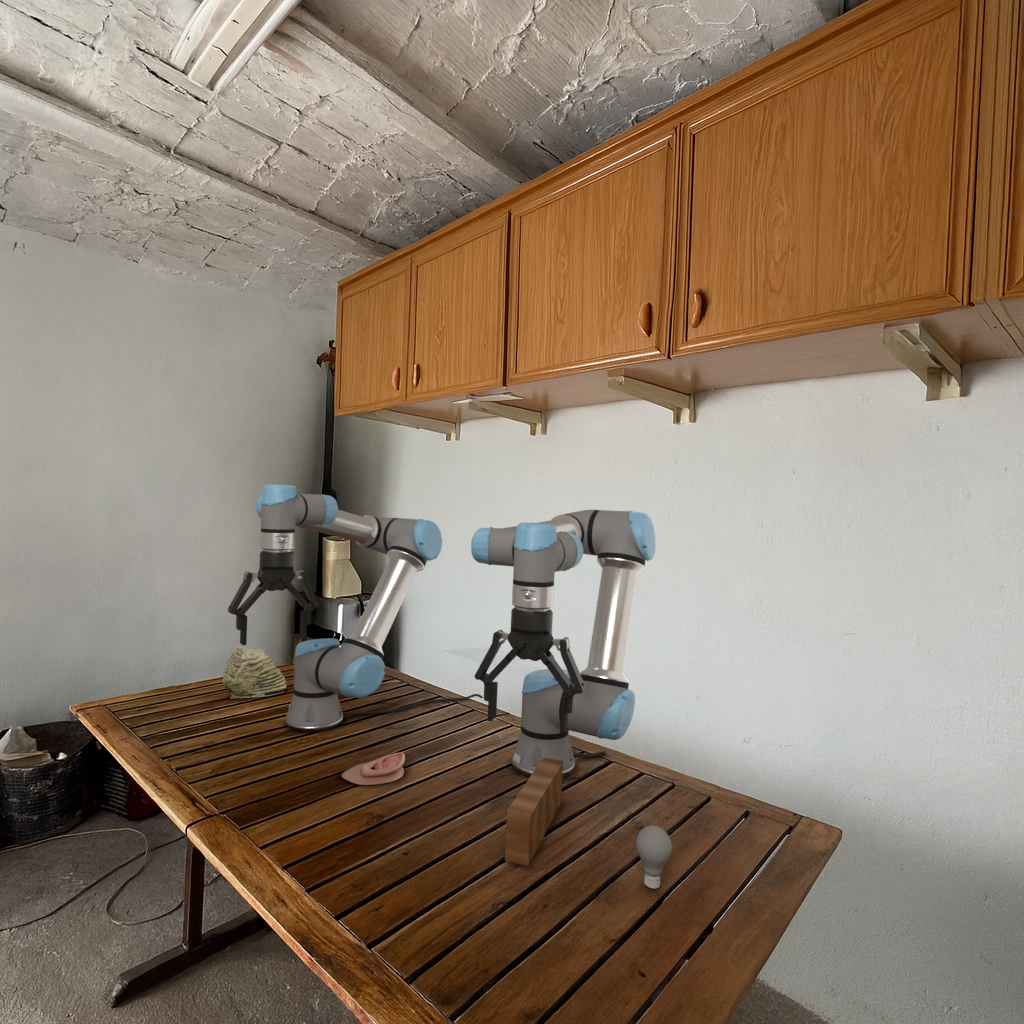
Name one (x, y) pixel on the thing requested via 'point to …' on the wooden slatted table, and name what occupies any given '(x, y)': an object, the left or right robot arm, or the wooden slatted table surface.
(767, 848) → the wooden slatted table surface
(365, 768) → the anatomical model
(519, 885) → the wooden slatted table surface
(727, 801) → the wooden slatted table surface
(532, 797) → the bar
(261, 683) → the fossil
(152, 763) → the wooden slatted table surface
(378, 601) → the left robot arm
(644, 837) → the light bulb
